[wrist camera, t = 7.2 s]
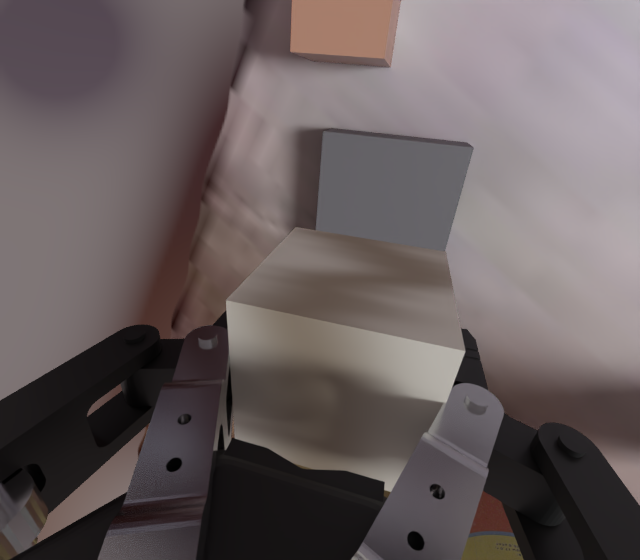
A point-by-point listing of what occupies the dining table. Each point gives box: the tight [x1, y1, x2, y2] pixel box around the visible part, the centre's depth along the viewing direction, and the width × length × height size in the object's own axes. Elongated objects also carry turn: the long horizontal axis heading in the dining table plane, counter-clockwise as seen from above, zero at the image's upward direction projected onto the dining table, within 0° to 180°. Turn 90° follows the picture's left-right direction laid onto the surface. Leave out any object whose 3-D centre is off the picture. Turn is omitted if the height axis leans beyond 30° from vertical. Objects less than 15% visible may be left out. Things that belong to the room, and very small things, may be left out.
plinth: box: [316, 128, 473, 251], centre depth 26 cm, size 10×10×3 cm
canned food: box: [461, 491, 524, 560], centre depth 35 cm, size 11×11×12 cm
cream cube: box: [226, 227, 465, 492], centre depth 11 cm, size 6×6×6 cm
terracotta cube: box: [290, 0, 401, 67], centre depth 20 cm, size 6×6×6 cm
